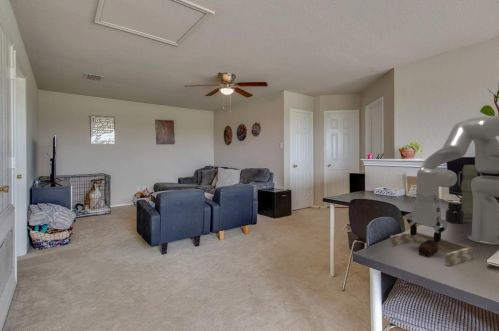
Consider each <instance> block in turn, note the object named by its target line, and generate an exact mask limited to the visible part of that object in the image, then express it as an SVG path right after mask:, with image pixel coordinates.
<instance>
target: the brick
mask: <svg viewBox="0 0 499 331" xmlns="http://www.w3.org/2000/svg"><path fill="white" fill-rule="evenodd" d="M417 250H418V255H419V256H423V257H426V258H430V257H432V256H434V255H435V254H437V253H438V252H439V249H438V242H434V241H432V240H427V241H425V242H424V243H422V244H421V243H419V246H418V249H417Z"/></svg>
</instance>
